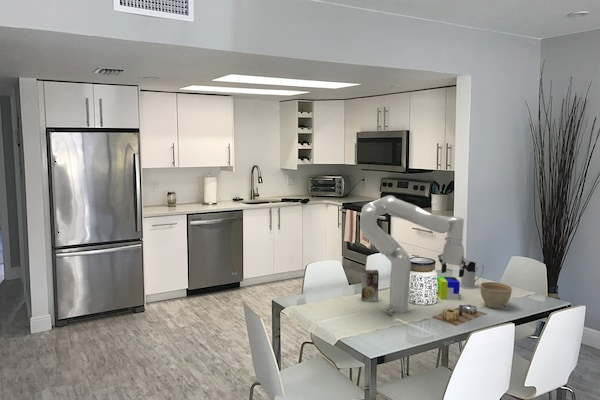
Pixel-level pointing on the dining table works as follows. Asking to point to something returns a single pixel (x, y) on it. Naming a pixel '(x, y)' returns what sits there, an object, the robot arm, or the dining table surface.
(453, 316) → the brass gear
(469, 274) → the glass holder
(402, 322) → the dining table surface
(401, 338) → the dining table surface
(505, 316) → the dining table surface
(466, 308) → the steel gear
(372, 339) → the dining table surface
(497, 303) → the planter bowl
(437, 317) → the gear board
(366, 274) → the coffee box
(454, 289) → the puzzle toy
